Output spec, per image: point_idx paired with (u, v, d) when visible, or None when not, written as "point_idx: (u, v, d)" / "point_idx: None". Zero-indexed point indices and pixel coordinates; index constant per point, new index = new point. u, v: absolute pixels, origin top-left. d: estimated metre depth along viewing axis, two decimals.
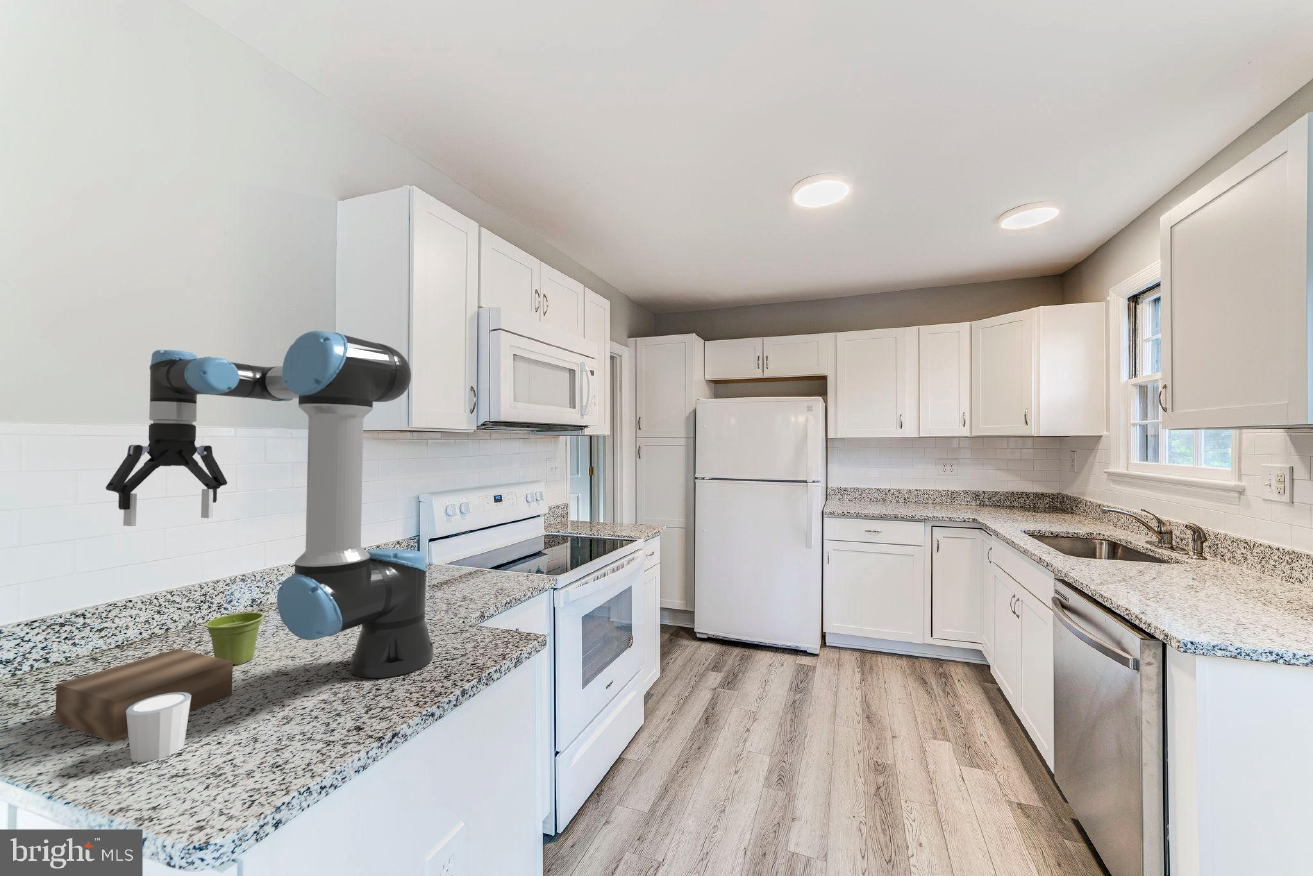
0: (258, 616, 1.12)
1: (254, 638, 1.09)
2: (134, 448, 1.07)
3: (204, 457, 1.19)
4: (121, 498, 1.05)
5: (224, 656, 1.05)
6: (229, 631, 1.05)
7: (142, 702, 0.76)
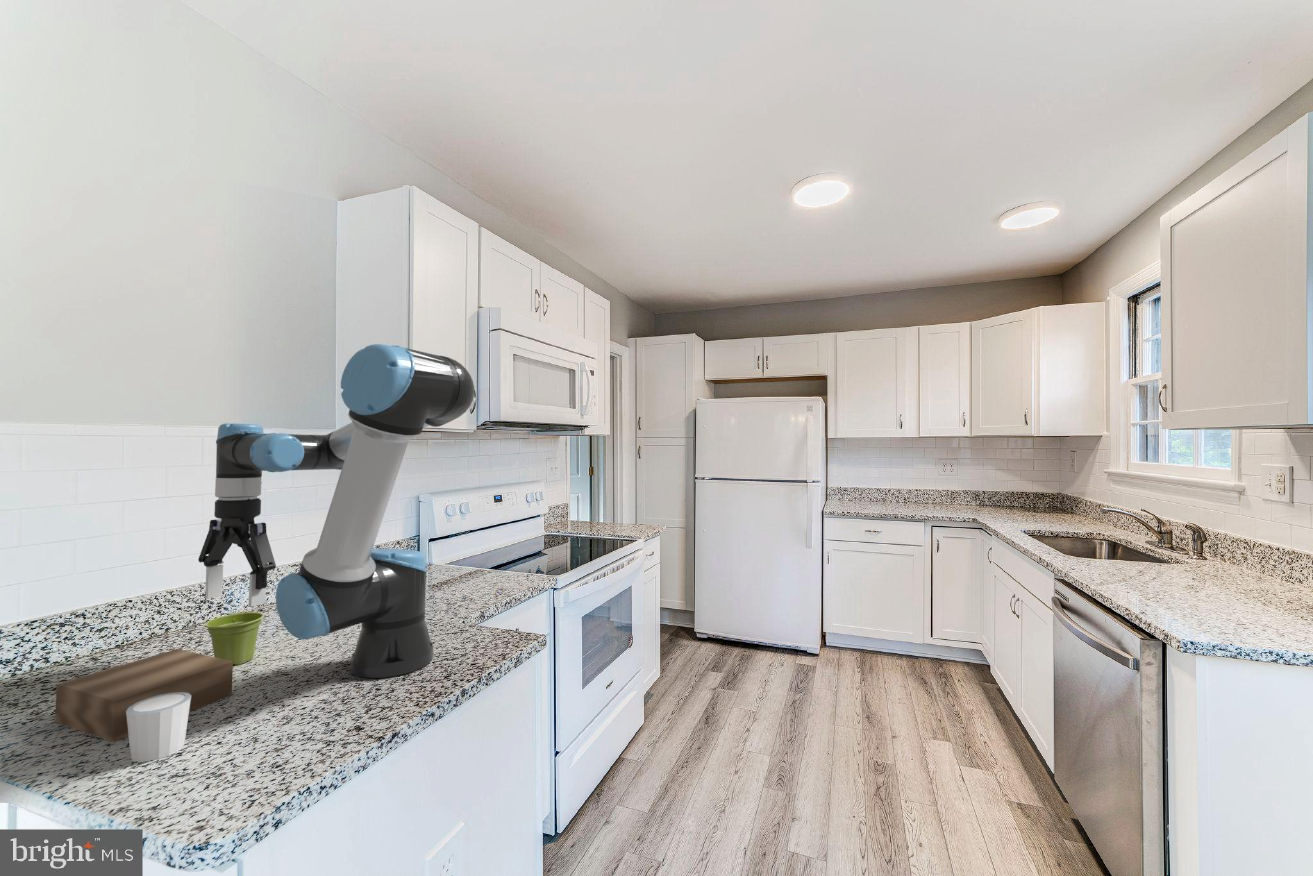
0: (258, 616, 1.12)
1: (254, 638, 1.09)
2: None
3: None
4: None
5: (224, 656, 1.05)
6: (229, 631, 1.05)
7: (142, 702, 0.76)
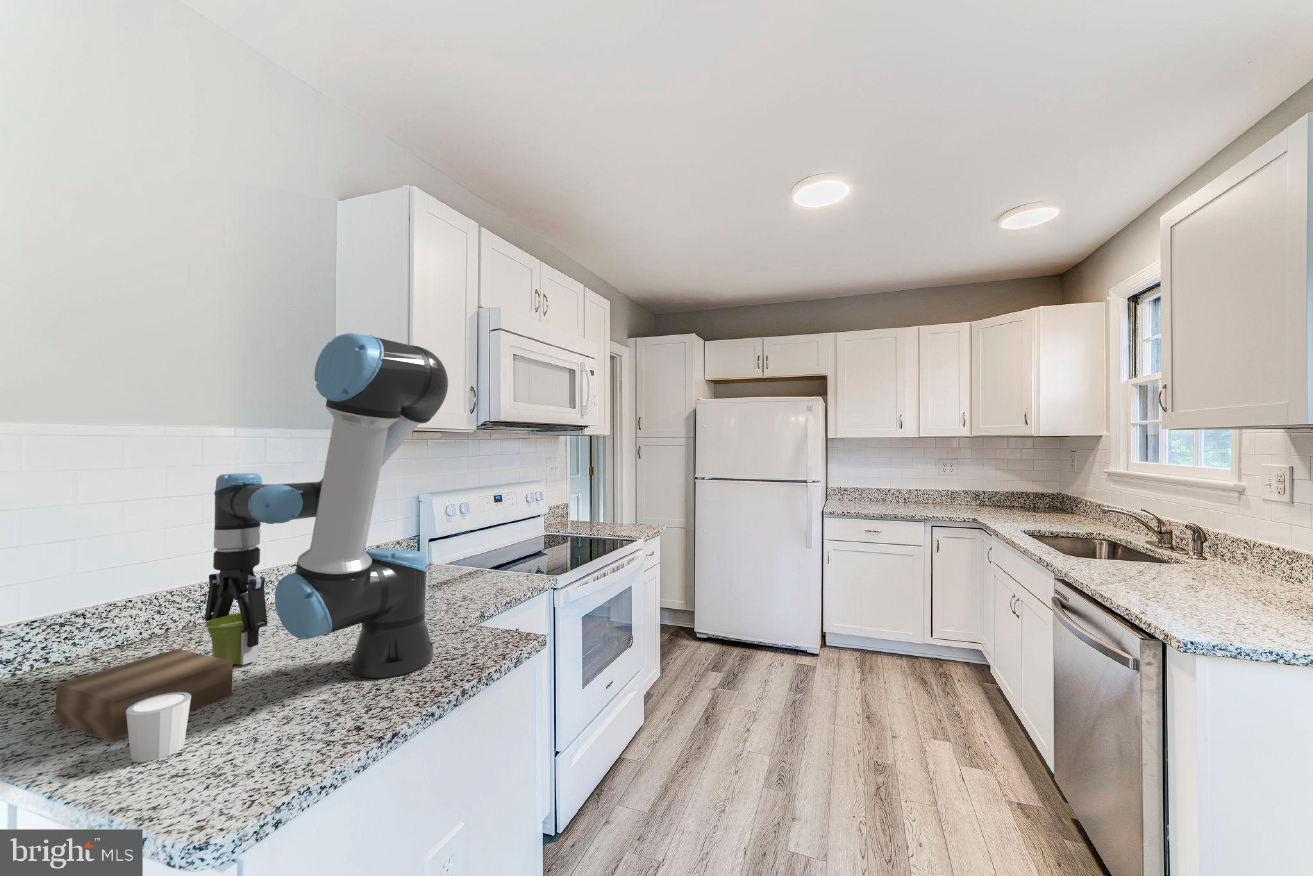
0: None
1: None
2: None
3: None
4: None
5: (224, 656, 1.05)
6: (229, 631, 1.05)
7: (142, 702, 0.76)
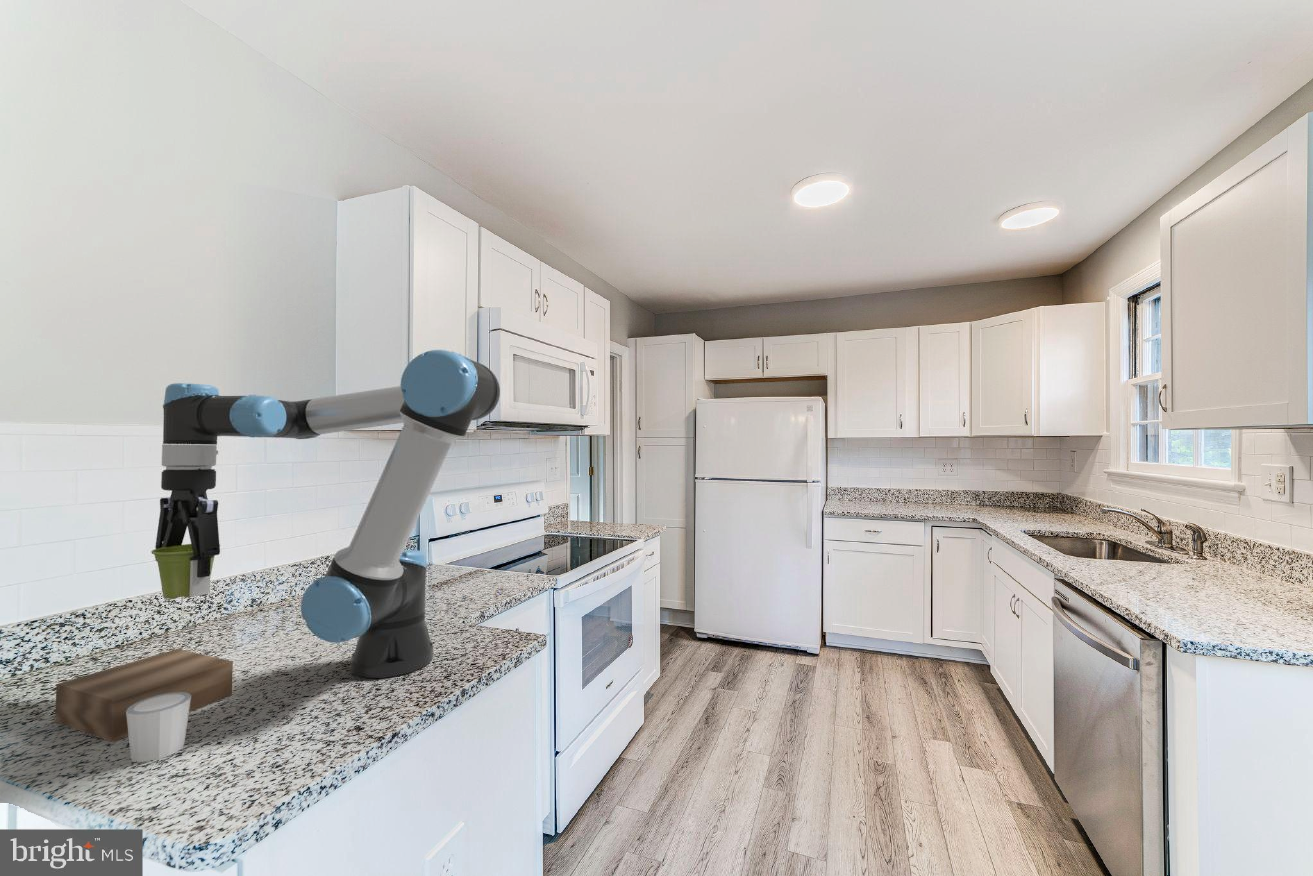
0: None
1: None
2: None
3: None
4: None
5: (171, 586, 0.93)
6: (177, 558, 0.93)
7: (142, 702, 0.76)
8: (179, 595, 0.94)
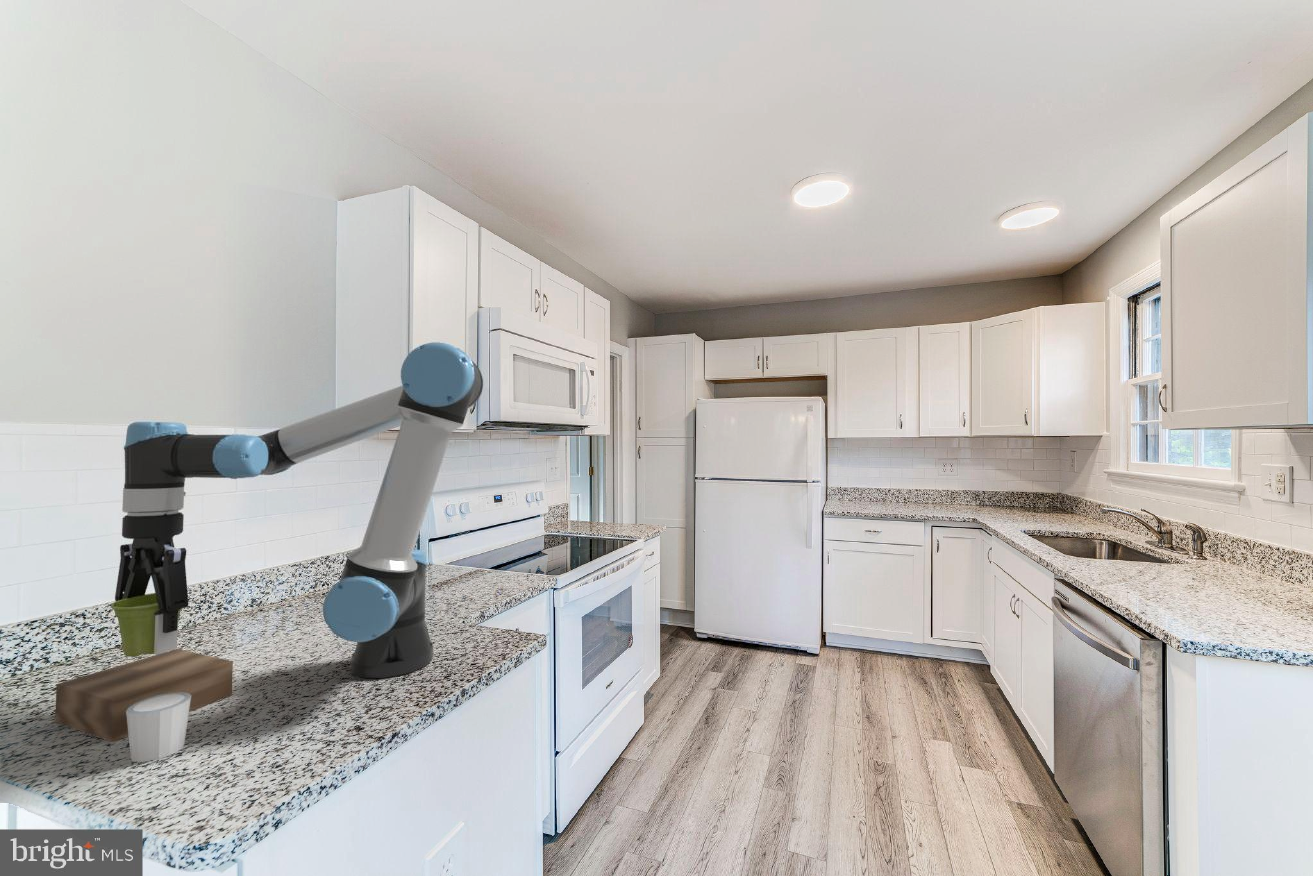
0: None
1: None
2: None
3: None
4: None
5: (133, 643, 0.86)
6: (139, 613, 0.85)
7: (142, 702, 0.76)
8: (142, 653, 0.86)
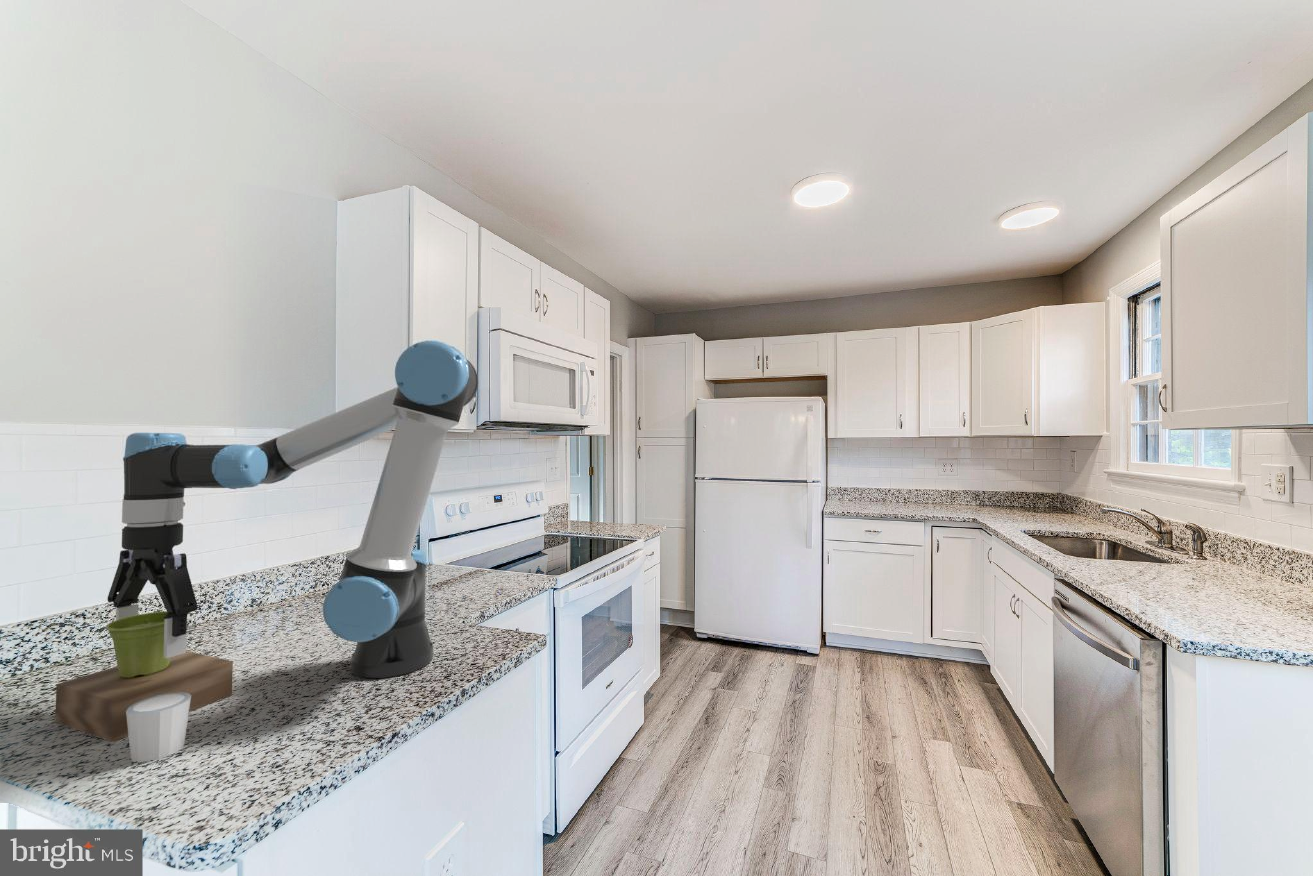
0: None
1: None
2: None
3: None
4: None
5: (128, 664, 0.86)
6: (134, 634, 0.86)
7: (142, 702, 0.76)
8: (137, 674, 0.87)
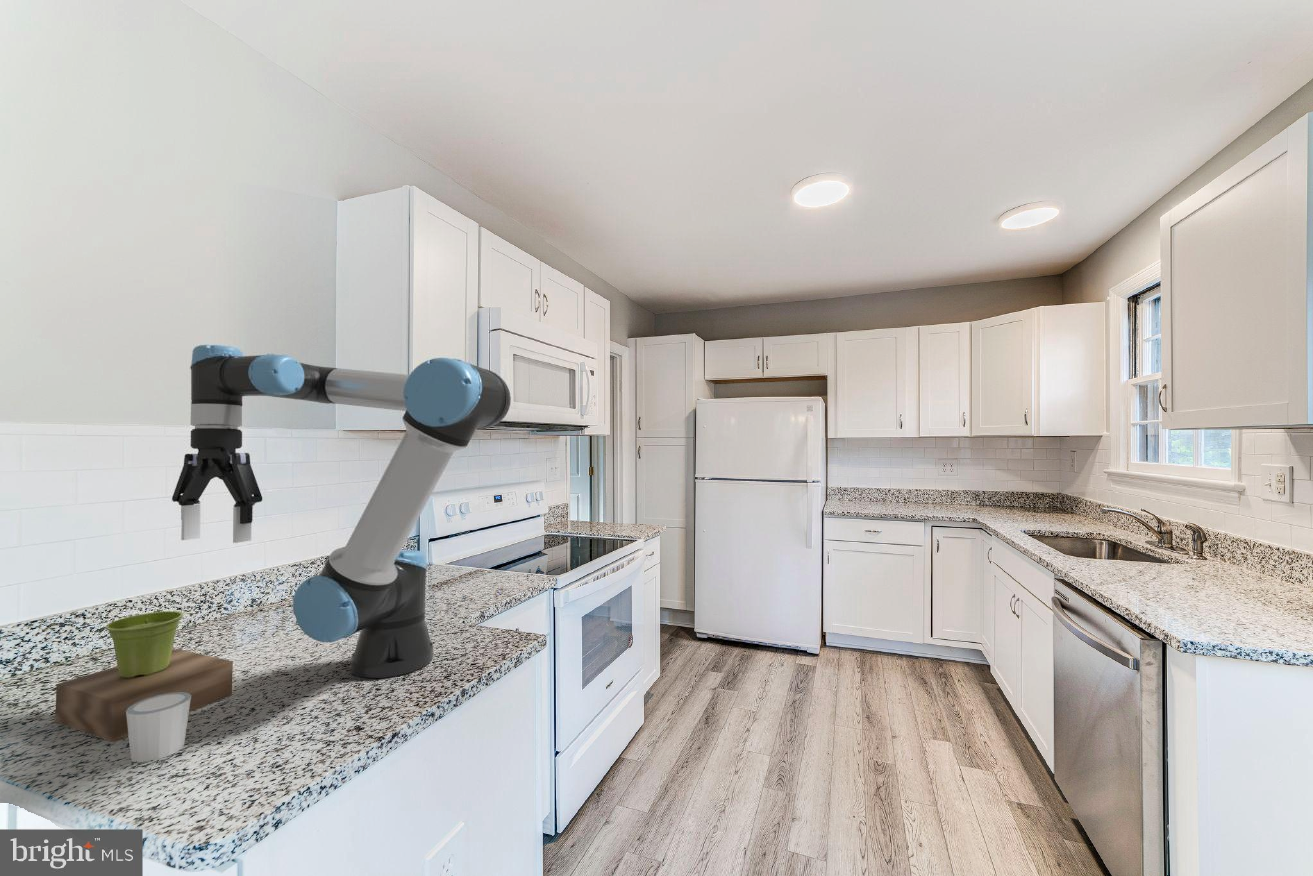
0: (176, 616, 0.93)
1: (169, 642, 0.90)
2: None
3: None
4: None
5: (128, 664, 0.86)
6: (134, 634, 0.86)
7: (142, 702, 0.76)
8: (137, 674, 0.87)
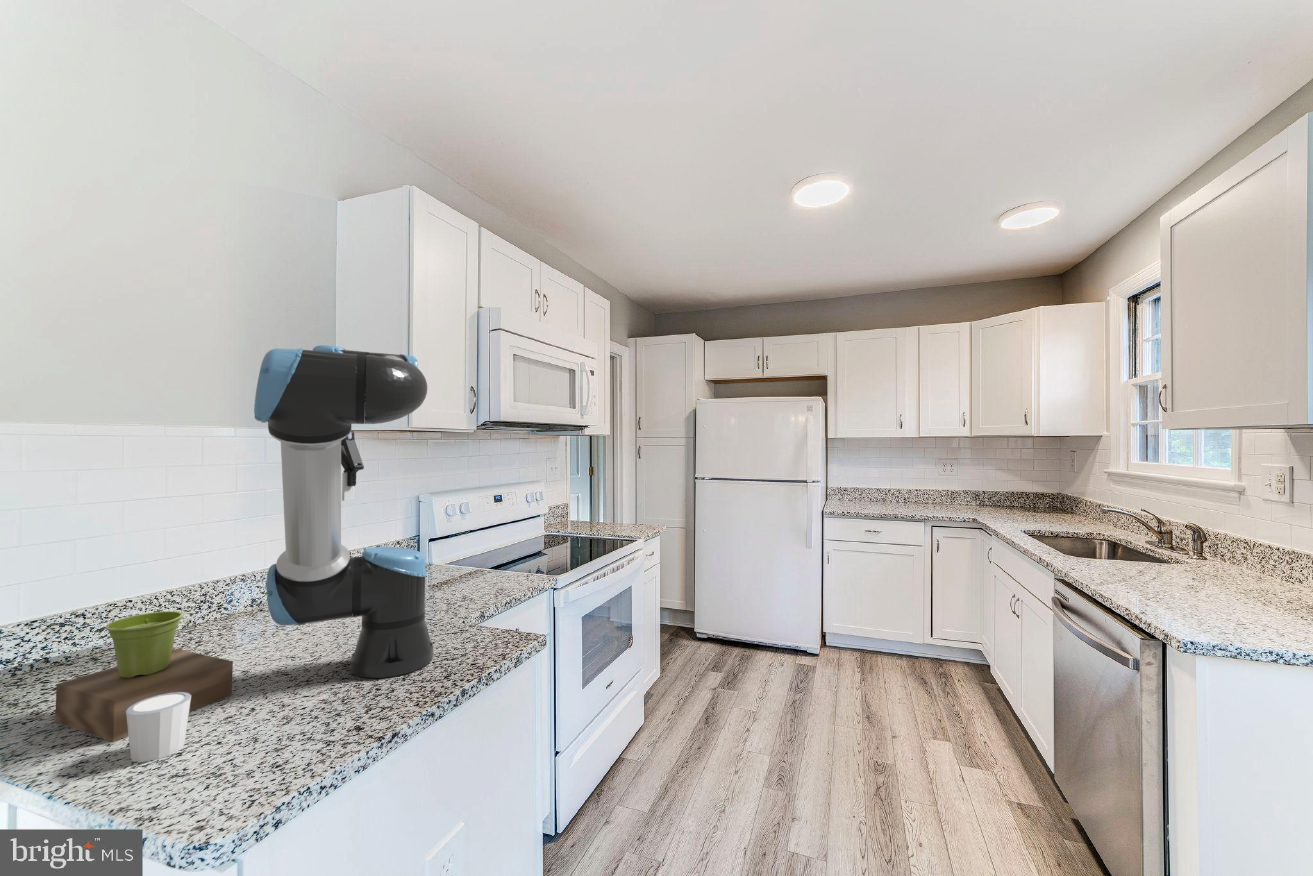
0: (176, 616, 0.93)
1: (169, 642, 0.90)
2: None
3: None
4: None
5: (128, 664, 0.86)
6: (134, 634, 0.86)
7: (142, 702, 0.76)
8: (137, 674, 0.87)
